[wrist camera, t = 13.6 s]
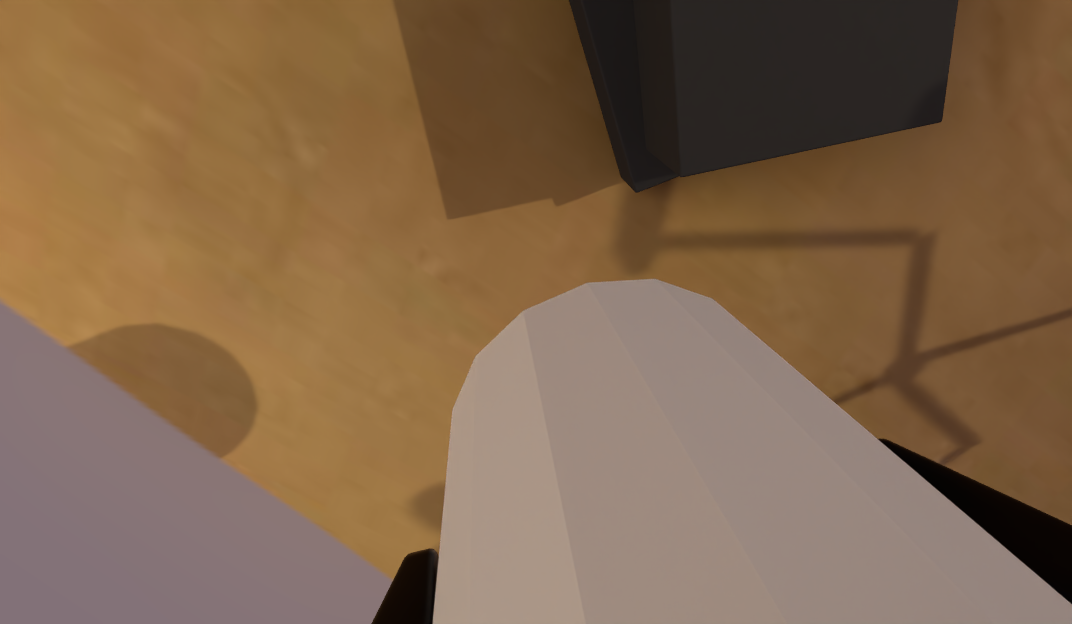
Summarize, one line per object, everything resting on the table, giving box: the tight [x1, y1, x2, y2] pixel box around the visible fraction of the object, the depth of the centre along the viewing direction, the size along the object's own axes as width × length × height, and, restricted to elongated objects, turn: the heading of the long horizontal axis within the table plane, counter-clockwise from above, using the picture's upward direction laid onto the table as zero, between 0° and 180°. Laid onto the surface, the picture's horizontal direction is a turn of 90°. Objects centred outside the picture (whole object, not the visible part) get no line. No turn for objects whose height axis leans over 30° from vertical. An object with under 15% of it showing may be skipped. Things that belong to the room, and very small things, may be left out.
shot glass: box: [433, 279, 1072, 624], centre depth 8 cm, size 7×7×7 cm
